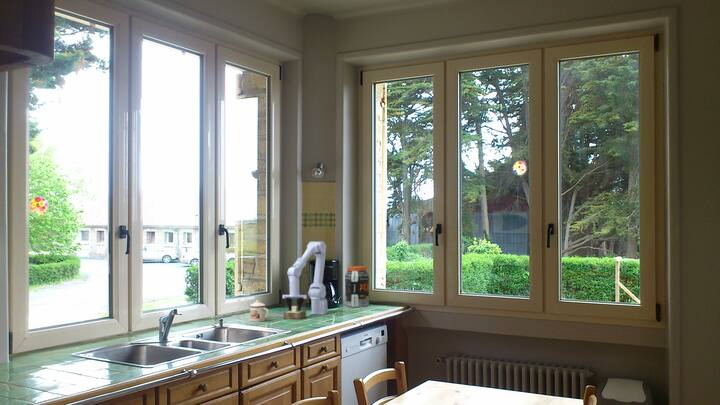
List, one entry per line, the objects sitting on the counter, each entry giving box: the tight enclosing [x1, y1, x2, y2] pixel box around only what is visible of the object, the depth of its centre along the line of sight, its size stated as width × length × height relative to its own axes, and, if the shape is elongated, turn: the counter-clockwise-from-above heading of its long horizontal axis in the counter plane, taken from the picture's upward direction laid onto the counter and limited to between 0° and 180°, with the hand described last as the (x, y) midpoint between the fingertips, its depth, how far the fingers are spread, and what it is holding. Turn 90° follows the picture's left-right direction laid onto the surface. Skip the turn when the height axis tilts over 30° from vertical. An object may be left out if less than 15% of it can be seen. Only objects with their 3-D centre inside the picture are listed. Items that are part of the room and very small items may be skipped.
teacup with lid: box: [249, 299, 270, 323], centre depth 375 cm, size 12×9×12 cm
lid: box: [285, 305, 304, 313], centre depth 384 cm, size 8×8×4 cm
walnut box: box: [283, 310, 307, 320], centre depth 383 cm, size 10×10×4 cm
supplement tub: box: [344, 265, 370, 308], centre depth 433 cm, size 16×16×26 cm
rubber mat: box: [268, 313, 284, 318], centre depth 392 cm, size 9×9×1 cm
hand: (294, 310), depth 384 cm, fingers open, 5 cm apart
